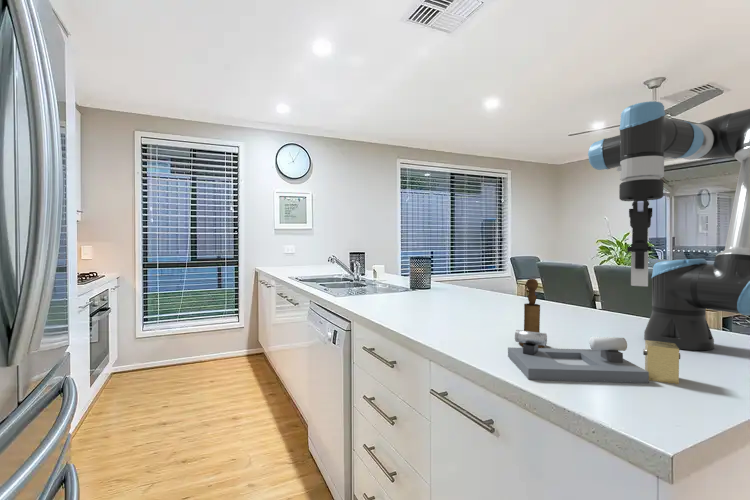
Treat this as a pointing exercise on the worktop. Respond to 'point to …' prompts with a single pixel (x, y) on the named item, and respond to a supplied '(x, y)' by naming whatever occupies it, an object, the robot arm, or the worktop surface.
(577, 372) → the grey frame with rollers
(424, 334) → the worktop surface
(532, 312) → the brown tall knobbed post
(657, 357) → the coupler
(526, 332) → the shaft
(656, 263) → the robot arm
